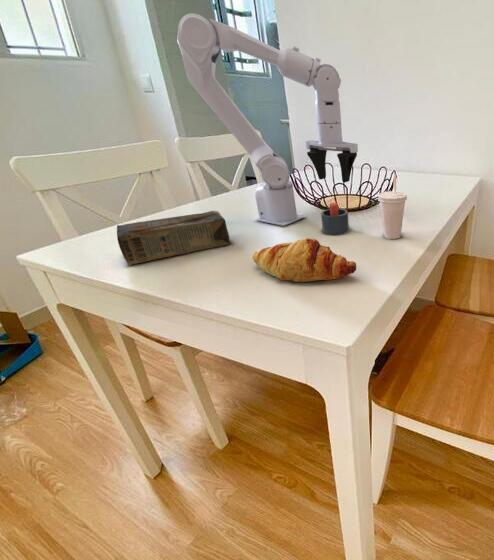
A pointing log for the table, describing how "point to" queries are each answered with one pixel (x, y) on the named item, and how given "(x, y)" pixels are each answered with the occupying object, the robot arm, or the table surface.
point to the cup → (335, 222)
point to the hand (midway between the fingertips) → (334, 180)
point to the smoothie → (392, 211)
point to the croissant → (303, 261)
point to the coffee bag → (171, 236)
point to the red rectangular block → (334, 209)
